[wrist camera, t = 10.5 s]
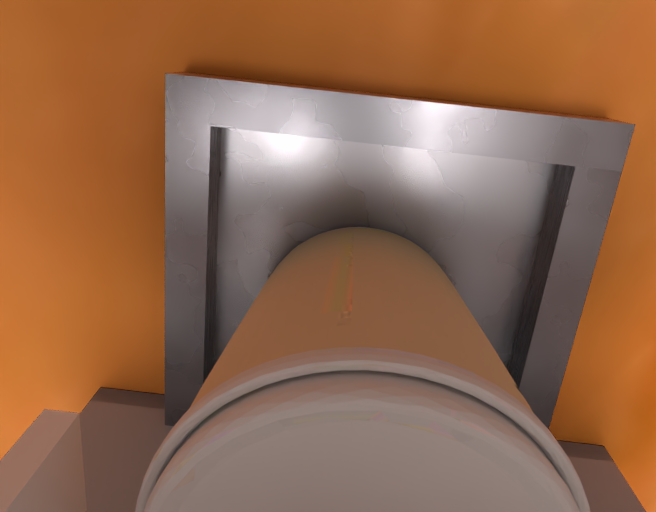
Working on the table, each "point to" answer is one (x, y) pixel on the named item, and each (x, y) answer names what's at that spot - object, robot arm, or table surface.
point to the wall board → (150, 430)
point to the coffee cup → (360, 400)
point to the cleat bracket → (382, 209)
